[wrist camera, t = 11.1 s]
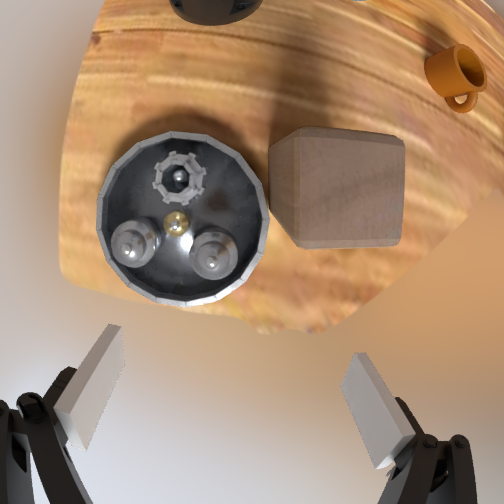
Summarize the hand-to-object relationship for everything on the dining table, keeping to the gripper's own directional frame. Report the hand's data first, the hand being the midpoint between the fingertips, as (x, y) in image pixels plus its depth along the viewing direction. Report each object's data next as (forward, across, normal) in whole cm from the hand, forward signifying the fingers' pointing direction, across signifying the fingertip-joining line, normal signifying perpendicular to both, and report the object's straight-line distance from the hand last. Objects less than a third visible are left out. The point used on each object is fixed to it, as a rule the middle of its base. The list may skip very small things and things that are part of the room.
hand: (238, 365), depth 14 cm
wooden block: (+29, +8, +10) cm, 32 cm away
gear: (+27, -8, +8) cm, 30 cm away
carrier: (+29, -8, +2) cm, 30 cm away
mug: (+29, +32, +35) cm, 56 cm away
